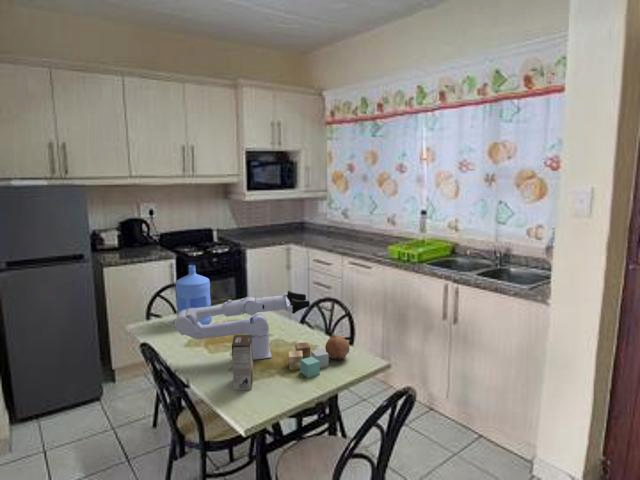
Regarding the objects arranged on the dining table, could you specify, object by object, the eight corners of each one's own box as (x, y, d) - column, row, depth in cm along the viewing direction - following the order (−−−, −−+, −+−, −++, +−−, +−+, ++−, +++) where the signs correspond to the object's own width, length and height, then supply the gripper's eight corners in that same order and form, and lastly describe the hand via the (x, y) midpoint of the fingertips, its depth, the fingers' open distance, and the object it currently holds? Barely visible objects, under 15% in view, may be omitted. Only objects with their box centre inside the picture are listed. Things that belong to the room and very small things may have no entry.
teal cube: (308, 378, 156) (307, 364, 155) (300, 372, 160) (300, 359, 159) (319, 374, 158) (319, 361, 157) (312, 369, 162) (312, 356, 162)
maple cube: (289, 369, 162) (289, 356, 161) (289, 363, 167) (288, 351, 166) (302, 369, 163) (302, 356, 162) (302, 363, 167) (302, 350, 167)
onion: (330, 362, 175) (324, 337, 177) (353, 356, 174) (346, 331, 176) (327, 364, 165) (321, 337, 168) (351, 357, 165) (344, 331, 167)
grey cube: (316, 368, 163) (316, 356, 162) (311, 363, 167) (311, 351, 166) (328, 366, 165) (328, 353, 164) (323, 361, 169) (323, 348, 168)
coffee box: (235, 377, 156) (233, 334, 153) (253, 377, 156) (252, 334, 154) (232, 390, 147) (230, 345, 144) (252, 389, 147) (250, 344, 145)
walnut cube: (297, 360, 169) (297, 348, 169) (295, 355, 174) (295, 343, 173) (310, 359, 171) (310, 347, 170) (307, 354, 175) (307, 342, 175)
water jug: (186, 316, 220) (183, 261, 216) (216, 317, 218) (214, 262, 213) (172, 327, 205) (168, 269, 200) (204, 329, 203) (201, 270, 198)
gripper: (275, 300, 164) (310, 296, 167) (271, 288, 178) (303, 285, 181) (276, 317, 166) (311, 314, 169) (271, 304, 180) (304, 301, 183)
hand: (307, 300), depth 175 cm, fingers open, 7 cm apart
